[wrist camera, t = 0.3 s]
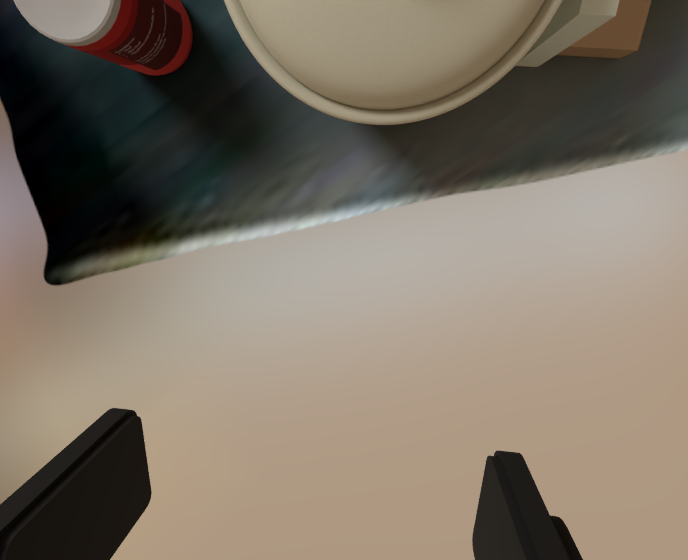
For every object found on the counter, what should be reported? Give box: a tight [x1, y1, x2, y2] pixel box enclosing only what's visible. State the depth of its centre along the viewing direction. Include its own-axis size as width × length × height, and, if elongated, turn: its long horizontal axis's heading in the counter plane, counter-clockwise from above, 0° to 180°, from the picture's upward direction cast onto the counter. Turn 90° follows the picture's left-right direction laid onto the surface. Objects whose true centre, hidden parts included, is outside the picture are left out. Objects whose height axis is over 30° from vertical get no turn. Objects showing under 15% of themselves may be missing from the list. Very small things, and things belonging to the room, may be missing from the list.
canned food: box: [14, 0, 193, 76], centre depth 31 cm, size 8×8×11 cm
